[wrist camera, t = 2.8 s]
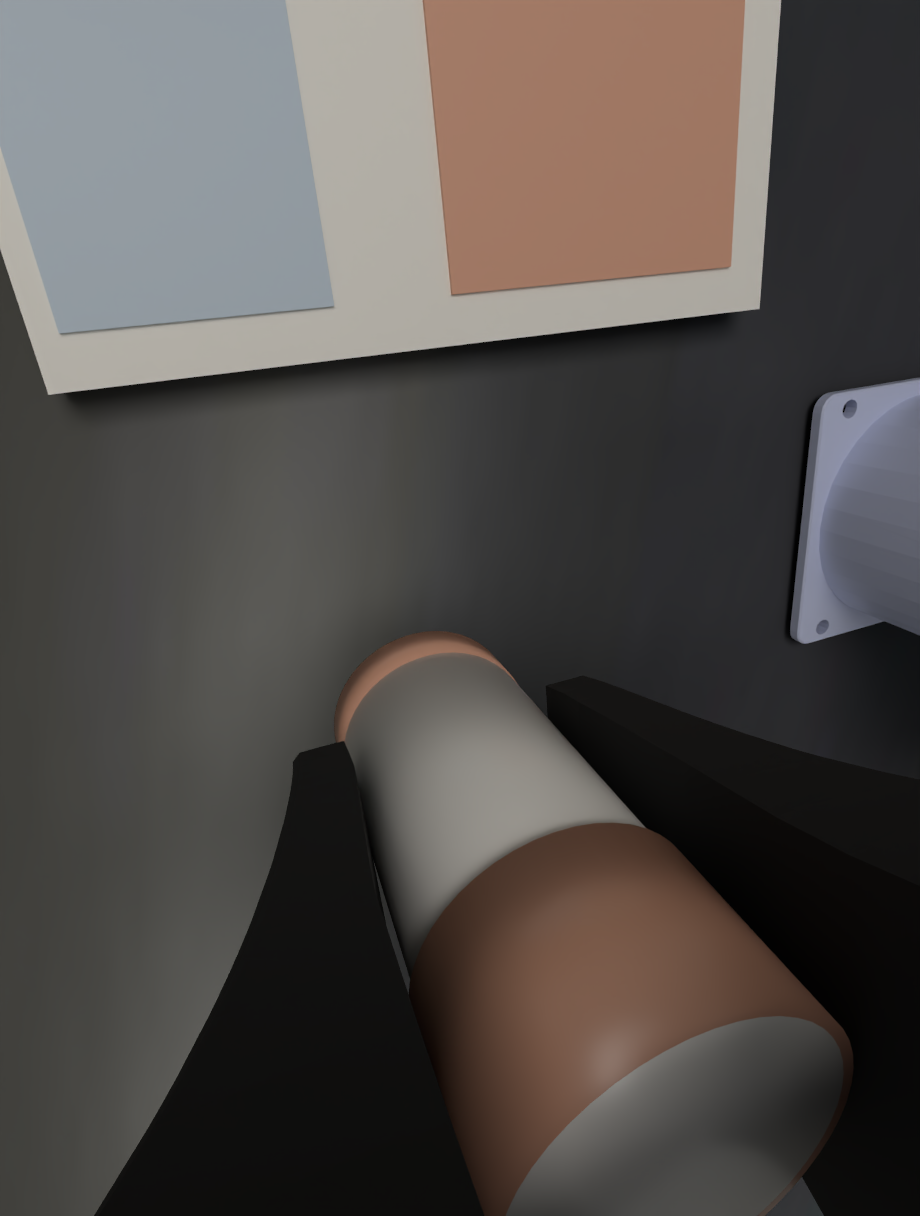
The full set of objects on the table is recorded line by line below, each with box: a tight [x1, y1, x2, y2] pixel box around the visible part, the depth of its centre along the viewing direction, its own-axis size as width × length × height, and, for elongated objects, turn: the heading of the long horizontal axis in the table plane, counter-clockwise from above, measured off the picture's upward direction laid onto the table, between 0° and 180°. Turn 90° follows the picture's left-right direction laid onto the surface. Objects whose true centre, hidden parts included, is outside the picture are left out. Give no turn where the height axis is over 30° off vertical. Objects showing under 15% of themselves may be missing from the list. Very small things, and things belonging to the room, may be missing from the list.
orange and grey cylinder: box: [334, 631, 854, 1216], centre depth 8 cm, size 3×3×7 cm
